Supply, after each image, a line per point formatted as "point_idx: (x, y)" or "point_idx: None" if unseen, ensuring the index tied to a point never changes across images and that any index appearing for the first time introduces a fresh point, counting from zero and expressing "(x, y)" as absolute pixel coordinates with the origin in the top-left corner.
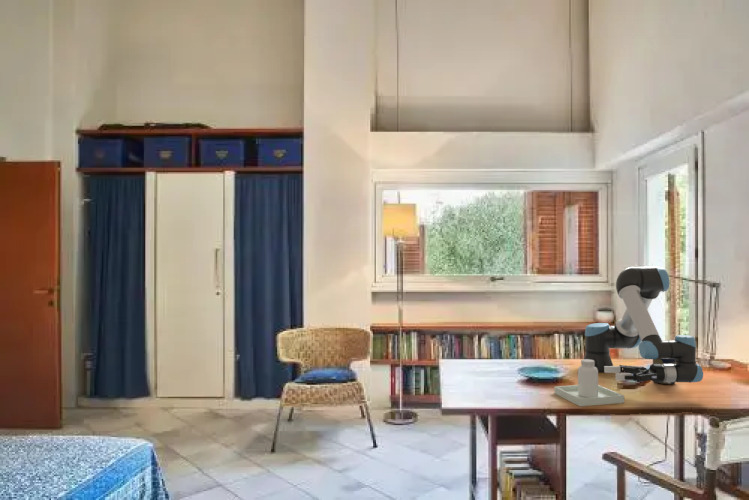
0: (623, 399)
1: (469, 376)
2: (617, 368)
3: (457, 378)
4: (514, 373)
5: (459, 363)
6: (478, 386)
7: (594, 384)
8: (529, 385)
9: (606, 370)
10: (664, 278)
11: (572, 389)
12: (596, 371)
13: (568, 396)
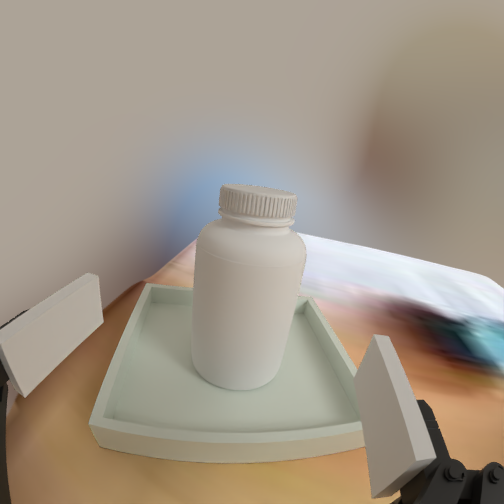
0: (95, 434)
1: (412, 267)
2: (393, 444)
3: (392, 257)
4: (473, 311)
5: (481, 280)
6: (348, 257)
7: (192, 307)
8: (384, 304)
9: (363, 373)
10: None
11: (324, 347)
12: (201, 247)
13: None
